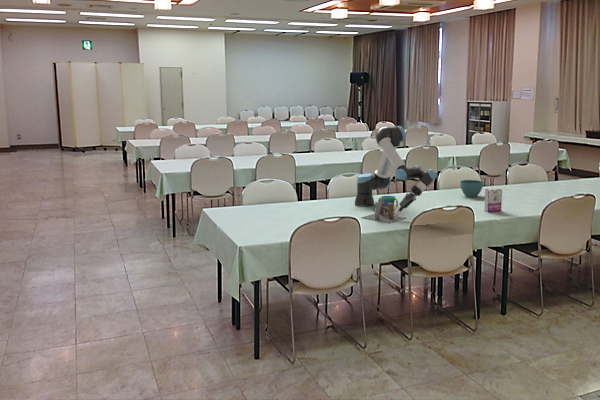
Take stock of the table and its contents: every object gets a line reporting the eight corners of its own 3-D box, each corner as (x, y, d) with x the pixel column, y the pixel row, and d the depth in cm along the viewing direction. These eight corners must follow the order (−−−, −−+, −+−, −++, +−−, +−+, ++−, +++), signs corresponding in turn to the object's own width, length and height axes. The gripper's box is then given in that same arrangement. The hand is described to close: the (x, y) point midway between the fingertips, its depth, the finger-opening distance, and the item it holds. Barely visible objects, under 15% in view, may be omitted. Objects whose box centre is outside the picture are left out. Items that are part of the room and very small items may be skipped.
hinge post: (377, 214, 410) (378, 197, 408) (384, 214, 410) (385, 197, 407) (377, 215, 405) (378, 198, 403) (385, 215, 405) (385, 199, 402)
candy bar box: (497, 210, 420) (498, 187, 417) (501, 211, 415) (502, 189, 412) (483, 211, 417) (485, 188, 414) (487, 212, 413) (489, 190, 409)
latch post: (375, 219, 395) (375, 202, 393) (379, 219, 395) (379, 202, 392) (374, 220, 390) (375, 203, 388) (379, 220, 390) (379, 203, 387)
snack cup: (374, 210, 423) (375, 196, 421) (383, 207, 431) (383, 194, 429) (392, 213, 413) (393, 199, 411) (400, 210, 420) (401, 197, 418)
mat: (361, 217, 399) (361, 217, 399) (378, 213, 413) (378, 212, 413) (389, 223, 383) (389, 222, 383) (406, 218, 397) (406, 217, 397)
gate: (381, 214, 405) (381, 200, 403) (384, 214, 406) (384, 200, 404) (390, 219, 392) (390, 204, 390) (393, 219, 393) (394, 204, 391)
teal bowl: (455, 195, 477) (455, 180, 475) (474, 193, 482) (474, 179, 480) (467, 199, 460) (468, 184, 458) (487, 197, 465) (488, 182, 463)
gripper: (426, 193, 387) (402, 219, 387) (418, 190, 400) (395, 215, 400) (418, 186, 385) (395, 212, 385) (411, 183, 398) (388, 208, 398)
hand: (395, 213), depth 393 cm, fingers closed
